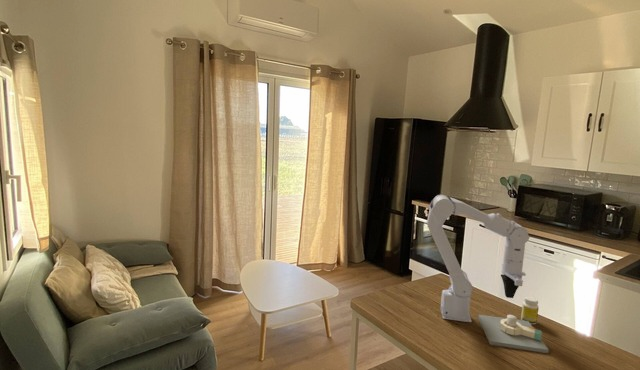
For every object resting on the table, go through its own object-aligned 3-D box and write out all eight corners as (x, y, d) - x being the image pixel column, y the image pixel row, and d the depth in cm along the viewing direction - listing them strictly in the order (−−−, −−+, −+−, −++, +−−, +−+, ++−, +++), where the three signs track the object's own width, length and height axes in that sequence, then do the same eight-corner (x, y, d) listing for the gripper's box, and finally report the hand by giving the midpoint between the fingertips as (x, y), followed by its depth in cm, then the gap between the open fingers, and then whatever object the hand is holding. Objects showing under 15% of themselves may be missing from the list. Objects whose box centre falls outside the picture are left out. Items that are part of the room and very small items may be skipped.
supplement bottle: (539, 325, 113) (541, 302, 112) (523, 323, 114) (526, 301, 113) (533, 318, 118) (535, 296, 117) (518, 316, 119) (521, 294, 118)
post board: (490, 344, 102) (491, 326, 101) (478, 317, 118) (479, 301, 117) (548, 353, 99) (550, 334, 98) (528, 324, 114) (530, 308, 113)
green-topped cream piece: (498, 331, 107) (499, 325, 107) (501, 322, 112) (501, 316, 112) (540, 343, 101) (541, 337, 100) (541, 334, 106) (541, 328, 105)
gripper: (535, 268, 104) (530, 308, 106) (519, 253, 118) (514, 289, 120) (510, 266, 106) (506, 305, 107) (497, 251, 120) (493, 286, 121)
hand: (509, 296), depth 114 cm, fingers closed
